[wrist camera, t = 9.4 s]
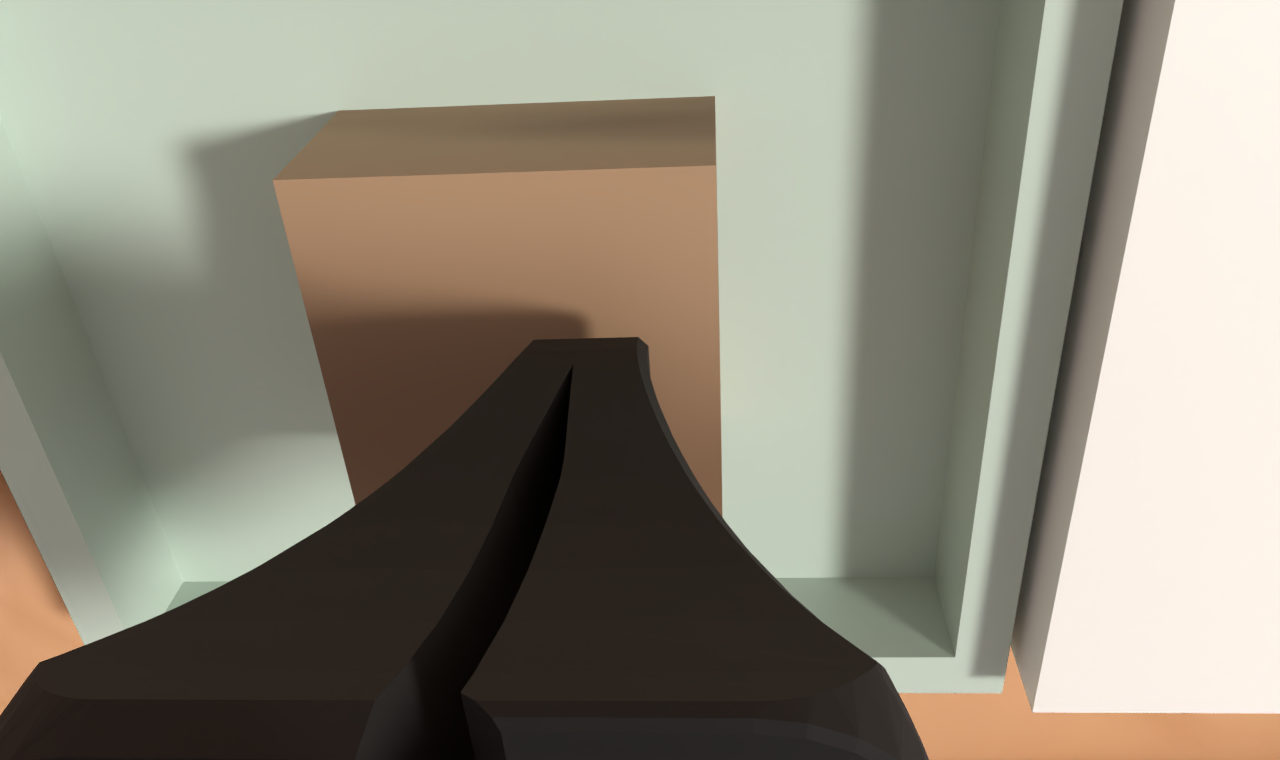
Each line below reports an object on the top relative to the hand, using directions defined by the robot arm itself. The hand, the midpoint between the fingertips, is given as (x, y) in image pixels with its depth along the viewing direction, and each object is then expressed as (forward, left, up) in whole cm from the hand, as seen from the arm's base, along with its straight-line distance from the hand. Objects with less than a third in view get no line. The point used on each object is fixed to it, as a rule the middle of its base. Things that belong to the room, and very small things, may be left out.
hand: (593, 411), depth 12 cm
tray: (0, +2, -4) cm, 4 cm away
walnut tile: (0, +1, -2) cm, 2 cm away
